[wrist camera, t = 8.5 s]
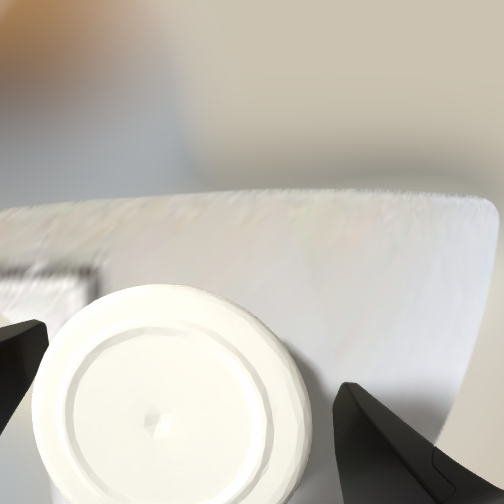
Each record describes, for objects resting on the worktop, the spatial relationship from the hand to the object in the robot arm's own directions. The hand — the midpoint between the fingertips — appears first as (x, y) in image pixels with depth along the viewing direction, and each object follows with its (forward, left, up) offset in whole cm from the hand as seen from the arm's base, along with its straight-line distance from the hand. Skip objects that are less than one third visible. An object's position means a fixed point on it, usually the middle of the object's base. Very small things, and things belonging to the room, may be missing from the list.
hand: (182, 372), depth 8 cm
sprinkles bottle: (-1, -1, -9) cm, 9 cm away
